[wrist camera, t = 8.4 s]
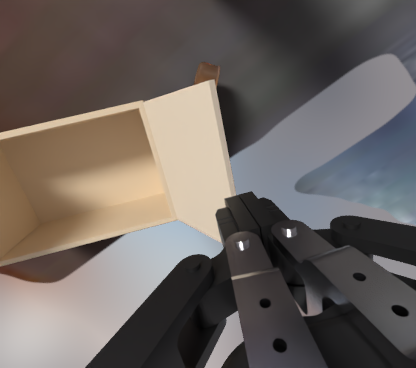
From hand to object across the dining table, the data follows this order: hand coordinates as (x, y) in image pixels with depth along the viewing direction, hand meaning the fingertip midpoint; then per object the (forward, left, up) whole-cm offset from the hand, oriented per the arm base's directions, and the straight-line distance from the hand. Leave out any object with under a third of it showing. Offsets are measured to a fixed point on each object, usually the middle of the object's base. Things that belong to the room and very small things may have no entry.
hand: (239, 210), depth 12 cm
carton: (+16, 0, -24) cm, 29 cm away
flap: (+2, 0, -9) cm, 10 cm away
